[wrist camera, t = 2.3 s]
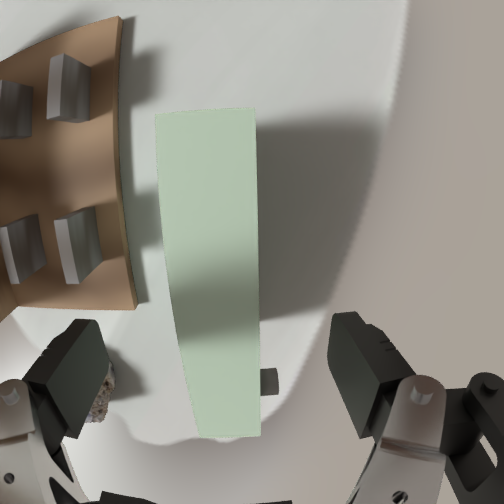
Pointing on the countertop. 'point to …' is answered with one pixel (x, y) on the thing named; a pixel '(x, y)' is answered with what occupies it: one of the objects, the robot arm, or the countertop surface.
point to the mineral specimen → (102, 398)
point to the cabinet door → (214, 263)
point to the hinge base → (63, 175)
